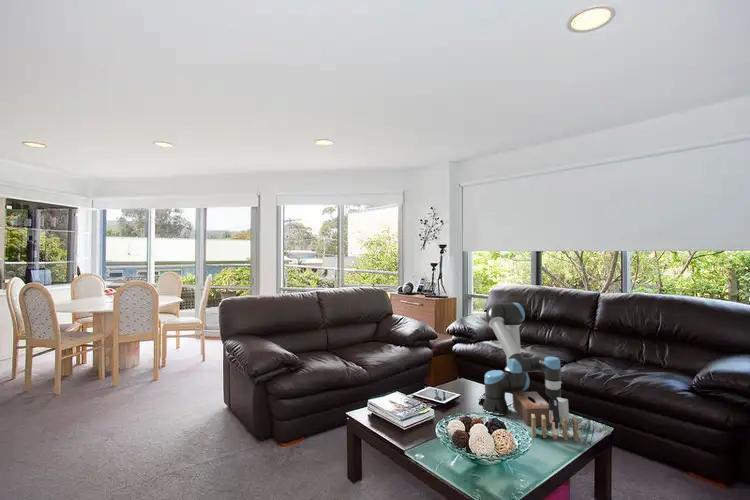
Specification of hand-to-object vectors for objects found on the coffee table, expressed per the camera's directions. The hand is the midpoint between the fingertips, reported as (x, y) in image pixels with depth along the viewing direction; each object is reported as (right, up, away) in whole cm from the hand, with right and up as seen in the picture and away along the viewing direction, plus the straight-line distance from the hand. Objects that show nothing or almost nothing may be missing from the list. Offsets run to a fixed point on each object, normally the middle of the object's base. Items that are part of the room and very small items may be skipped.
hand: (554, 428), depth 204 cm
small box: (+11, -4, +17) cm, 21 cm away
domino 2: (-5, -4, +1) cm, 7 cm away
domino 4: (+10, -4, -3) cm, 11 cm away
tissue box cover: (-1, -5, +26) cm, 26 cm away
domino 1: (-9, -5, +3) cm, 11 cm away
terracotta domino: (0, -4, 0) cm, 4 cm away
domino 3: (+5, -4, -1) cm, 7 cm away
